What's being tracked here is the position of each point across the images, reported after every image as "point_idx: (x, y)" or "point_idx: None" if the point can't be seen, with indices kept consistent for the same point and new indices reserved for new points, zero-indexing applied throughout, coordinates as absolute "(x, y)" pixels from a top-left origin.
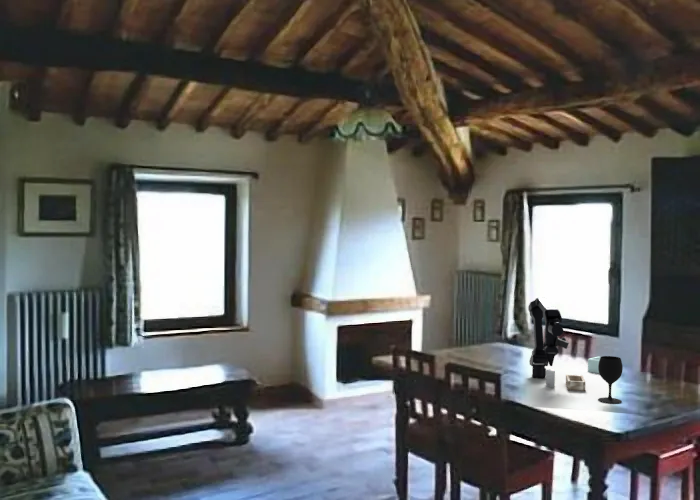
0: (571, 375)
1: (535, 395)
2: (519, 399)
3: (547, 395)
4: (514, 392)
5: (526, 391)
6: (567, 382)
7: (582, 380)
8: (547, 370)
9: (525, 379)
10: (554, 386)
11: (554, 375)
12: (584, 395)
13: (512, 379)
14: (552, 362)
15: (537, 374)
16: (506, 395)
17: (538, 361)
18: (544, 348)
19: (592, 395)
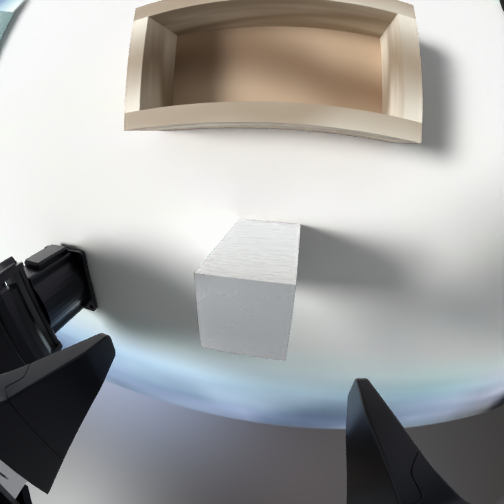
0: (141, 82)
1: (481, 346)
2: (501, 385)
3: (495, 298)
4: (417, 409)
5: (412, 378)
6: (329, 129)
7: (340, 3)
8: (270, 351)
9: (140, 345)
10: (299, 226)
11: (297, 264)
12: (494, 86)
13: (165, 389)
14: (391, 420)
15: (78, 295)
16: (448, 420)
17: (39, 341)
18: (46, 491)
19: (480, 41)
